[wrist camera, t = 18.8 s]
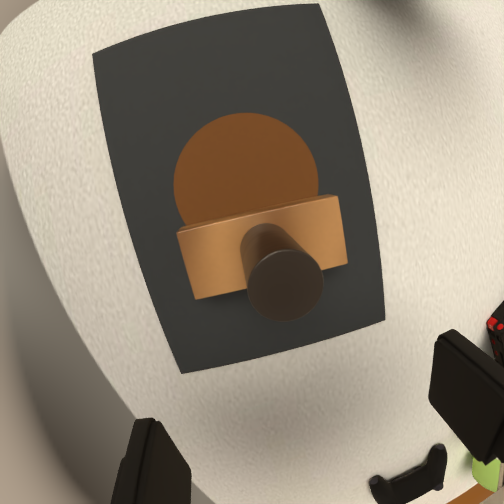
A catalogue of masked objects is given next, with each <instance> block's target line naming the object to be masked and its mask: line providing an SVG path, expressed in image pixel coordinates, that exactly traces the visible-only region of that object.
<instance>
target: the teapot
mask: <svg viewBox="0 0 504 504" xmlns="http://www.w3.org/2000/svg"><path fill="white" fill-rule="evenodd" d="M472 459H473V465H472V475H473V477H474V479H475V480H476V481H477V482H478V483H479V484H481V485H482V486H483V487H485V488H486V489H488V490H491V491H493V492H496V491H497V487H498V480H499V472H500V463H501V462H500V460H497V459H494V460H493V461H492V462H490V463H489V464H488V465H486V466H485V465H484V463H483V462H482V461H481V462H479V461H477V460H476V459H475V458H474V457H472Z"/></svg>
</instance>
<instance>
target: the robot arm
mask: <svg viewBox="0 0 504 504" xmlns="http://www.w3.org/2000/svg"><path fill="white" fill-rule="evenodd" d="M428 398H429V401H430V403H431V405H432V406H433V407H434V409H435V410H436V411H437V412H438V413H439V415H440V416H441V417H442V418H443V419H444V421H445V422H446V423H447V424H448V425H449V427H450V428H451V429H452V430H453V432H454V433H455V434H456V435H457V437H458V438H459V439H460V440H461V441H462V443H463V444H464V445H465V446H466V448H467V449H468V450H469V451H470V453H471V454H472V455H473V457H474V458H475V459H476V460H477V461H479V462H481V461H482V462H483V463H484V465H485V466H486V465H488V464H489V463H490V462H492V461H493V460H494V459H496V458H498V459H499V460H500V462H501V463H500V472H499V480H498V487H497V491H496V492H495V493H494V494H492V495H491V496H490V497H488V498H487V499H486V500H484V501H483V502H481V503H480V504H504V368H503V367H502V366H501V365H500V364H498V363H497V362H496V361H495V360H493V359H492V358H491V357H490V356H488V355H487V354H486V353H485V352H483V351H482V350H481V349H480V348H478V347H477V346H476V345H474V344H473V343H472V342H471V341H469V340H468V339H467V338H465V337H464V336H463V335H461V334H460V333H459V332H458V331H456V330H454V329H451V330H449V331H447V332H445V333H443V334H441V335H439V336H438V338H437V341H436V342H435V344H434V355H433V365H432V373H431V381H430V388H429V395H428ZM191 477H192V475H191V469H190V467H189V465H188V464H187V462H186V461H185V459H184V458H183V456H182V455H181V453H180V452H179V450H178V449H177V447H176V446H175V444H174V443H173V441H172V439H171V438H170V436H169V435H168V433H167V431H166V430H165V428H164V427H163V425H162V423H161V422H160V421H156V420H155V419H154V418H143V419H136V420H135V422H134V425H133V429H132V433H131V436H130V440H129V444H128V448H127V452H126V456H125V457H124V458H123V459H122V460H121V463H120V467H119V470H118V474H117V479H116V483H115V487H114V491H113V495H112V500H111V504H190V503H191Z"/></svg>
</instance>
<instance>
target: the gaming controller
mask: <svg viewBox="0 0 504 504" xmlns="http://www.w3.org/2000/svg"><path fill="white" fill-rule="evenodd" d="M446 465H447V452H446V448H445V446H444V445H443V444H437V445H436V446H435V447H433V448H432V450H431V452H430V454H429V457H428V461H427V463H426V465H425V466H420V467H418V468H416V469H415V470H414V471H413V472H411V473H409V474H407V475H405V476H403V477H401V478H396V479H394V480H393V481H392V482H391V483H388V482H387V481H386V480H384V479H383V478H382V477H380V476H376V477H373V478H371V479H370V481H369V486H370V489H371V493H372V495H373V497H374V499H375V501H376V502H377V503H378V504H406V503H408V502H410V501H412V500H414V499H416V498H418V497H420V496H422V495H424V494H425V493H427V492H429V491H430V490H432V489H433V490H436V491H439V490H441V489H442V488H443V482H444V475H445V470H446Z"/></svg>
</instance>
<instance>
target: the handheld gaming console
mask: <svg viewBox="0 0 504 504" xmlns="http://www.w3.org/2000/svg"><path fill="white" fill-rule="evenodd" d="M487 324H488V328H487V330H488V333H489V337H490V341H491V344H492V348H493V352H494V356H495V361H496V362H497V363H498V364H500V365H501V366H502V367H503V368H504V301H503V303H502V304H501V305H500V306H499V307H498V309H497V310H496V311H495V312H494V313H493V315H492V317H491V318H490V319H489V320H488V322H487Z"/></svg>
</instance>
